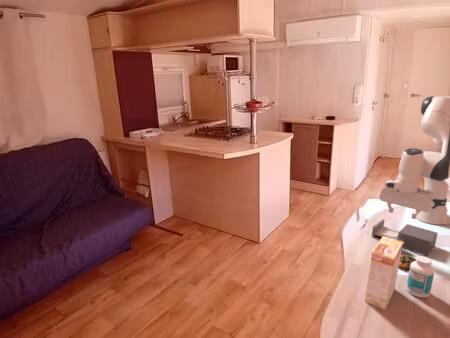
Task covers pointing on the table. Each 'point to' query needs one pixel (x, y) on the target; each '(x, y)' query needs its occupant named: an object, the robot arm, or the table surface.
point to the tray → (383, 230)
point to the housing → (418, 239)
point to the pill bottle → (420, 277)
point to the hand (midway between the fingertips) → (401, 215)
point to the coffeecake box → (383, 272)
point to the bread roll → (405, 262)
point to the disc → (398, 239)
